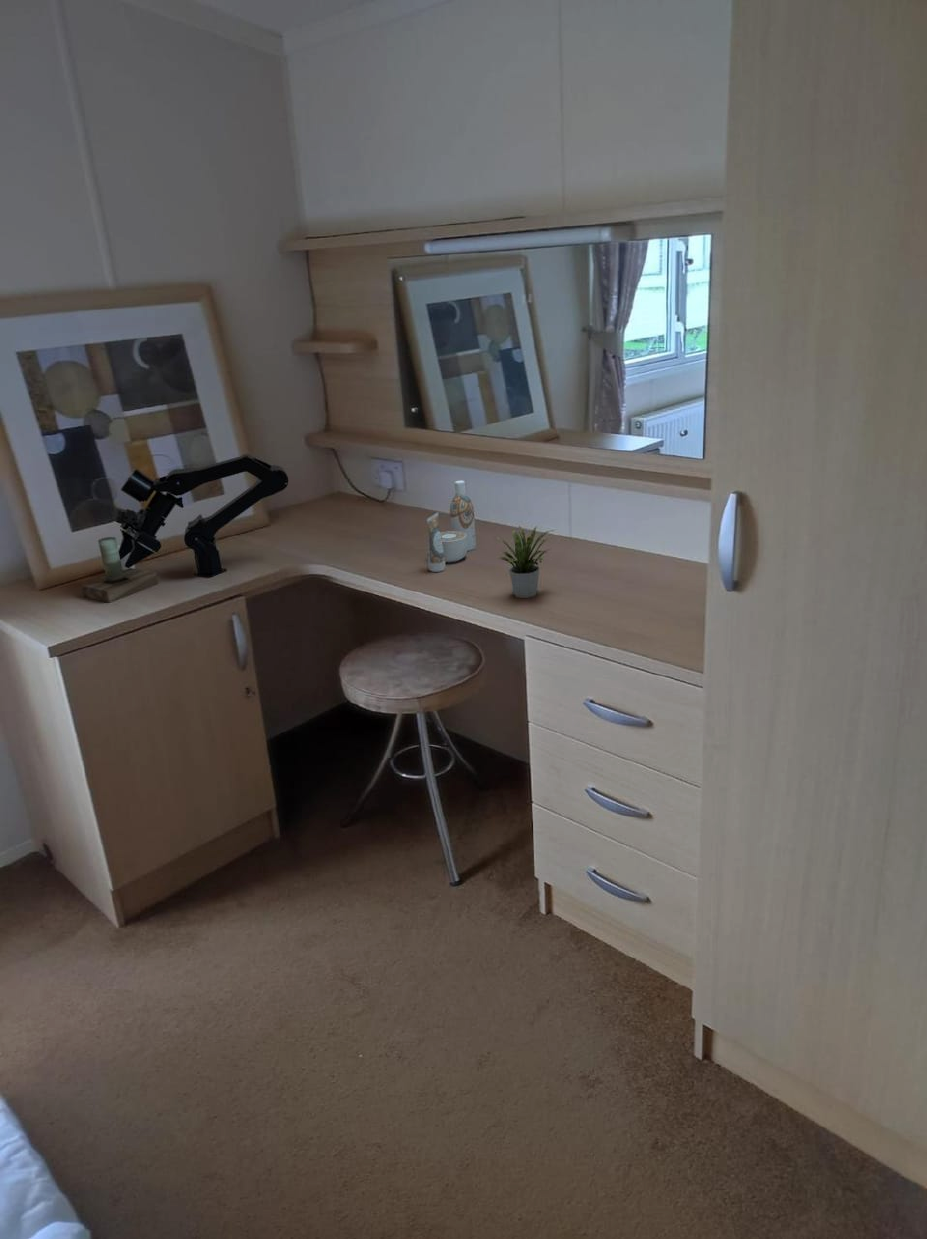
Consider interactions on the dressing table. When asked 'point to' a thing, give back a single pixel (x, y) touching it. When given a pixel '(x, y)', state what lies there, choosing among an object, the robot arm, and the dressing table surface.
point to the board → (120, 585)
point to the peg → (111, 560)
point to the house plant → (524, 564)
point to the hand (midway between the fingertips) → (122, 563)
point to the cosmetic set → (452, 532)
